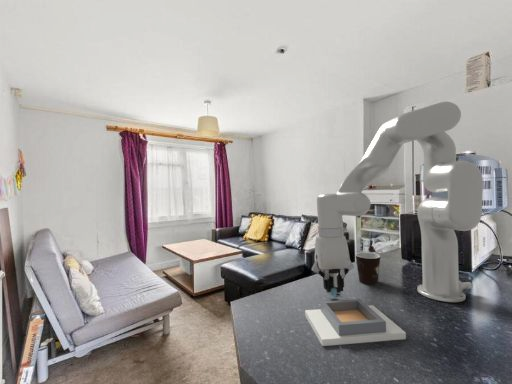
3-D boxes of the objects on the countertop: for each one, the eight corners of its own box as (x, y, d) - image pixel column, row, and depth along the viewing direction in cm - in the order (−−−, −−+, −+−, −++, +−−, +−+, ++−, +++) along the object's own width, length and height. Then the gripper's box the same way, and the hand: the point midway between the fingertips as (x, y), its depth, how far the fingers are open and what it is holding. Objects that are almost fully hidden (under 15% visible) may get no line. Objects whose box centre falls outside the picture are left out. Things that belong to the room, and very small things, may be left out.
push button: (348, 297, 77) (346, 265, 77) (334, 301, 75) (332, 268, 75) (334, 290, 84) (332, 260, 84) (321, 293, 82) (319, 262, 82)
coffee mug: (369, 276, 100) (368, 251, 100) (386, 284, 92) (385, 256, 92) (344, 280, 96) (343, 254, 96) (360, 288, 88) (359, 260, 88)
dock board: (372, 310, 72) (372, 296, 72) (405, 338, 58) (405, 321, 58) (305, 315, 71) (304, 301, 71) (322, 346, 57) (321, 328, 57)
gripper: (350, 229, 84) (353, 283, 84) (302, 232, 82) (305, 288, 83) (361, 232, 76) (365, 292, 76) (308, 236, 75) (312, 297, 75)
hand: (333, 289), depth 80 cm, fingers closed on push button, 3 cm apart
